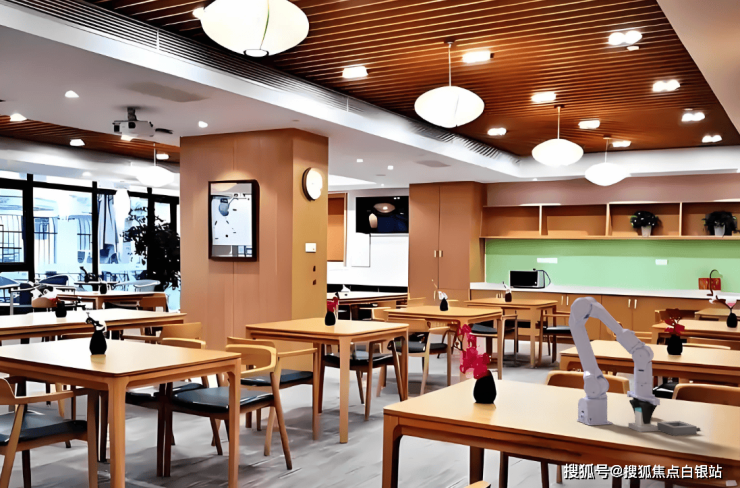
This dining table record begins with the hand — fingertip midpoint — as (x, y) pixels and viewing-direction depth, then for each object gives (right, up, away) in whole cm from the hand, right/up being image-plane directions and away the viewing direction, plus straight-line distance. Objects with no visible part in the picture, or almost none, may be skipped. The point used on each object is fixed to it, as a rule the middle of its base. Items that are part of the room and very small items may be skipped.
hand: (643, 422), depth 232 cm
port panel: (+12, -2, -3) cm, 13 cm away
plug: (0, -2, 0) cm, 2 cm away
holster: (0, -2, 0) cm, 2 cm away
